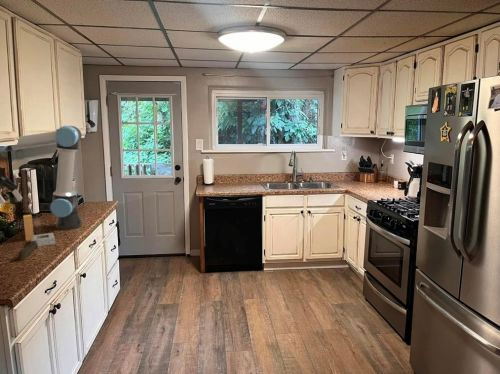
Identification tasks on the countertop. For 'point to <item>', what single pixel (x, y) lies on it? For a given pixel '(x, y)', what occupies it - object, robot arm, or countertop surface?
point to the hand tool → (27, 250)
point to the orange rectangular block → (28, 226)
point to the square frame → (43, 239)
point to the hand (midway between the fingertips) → (12, 201)
